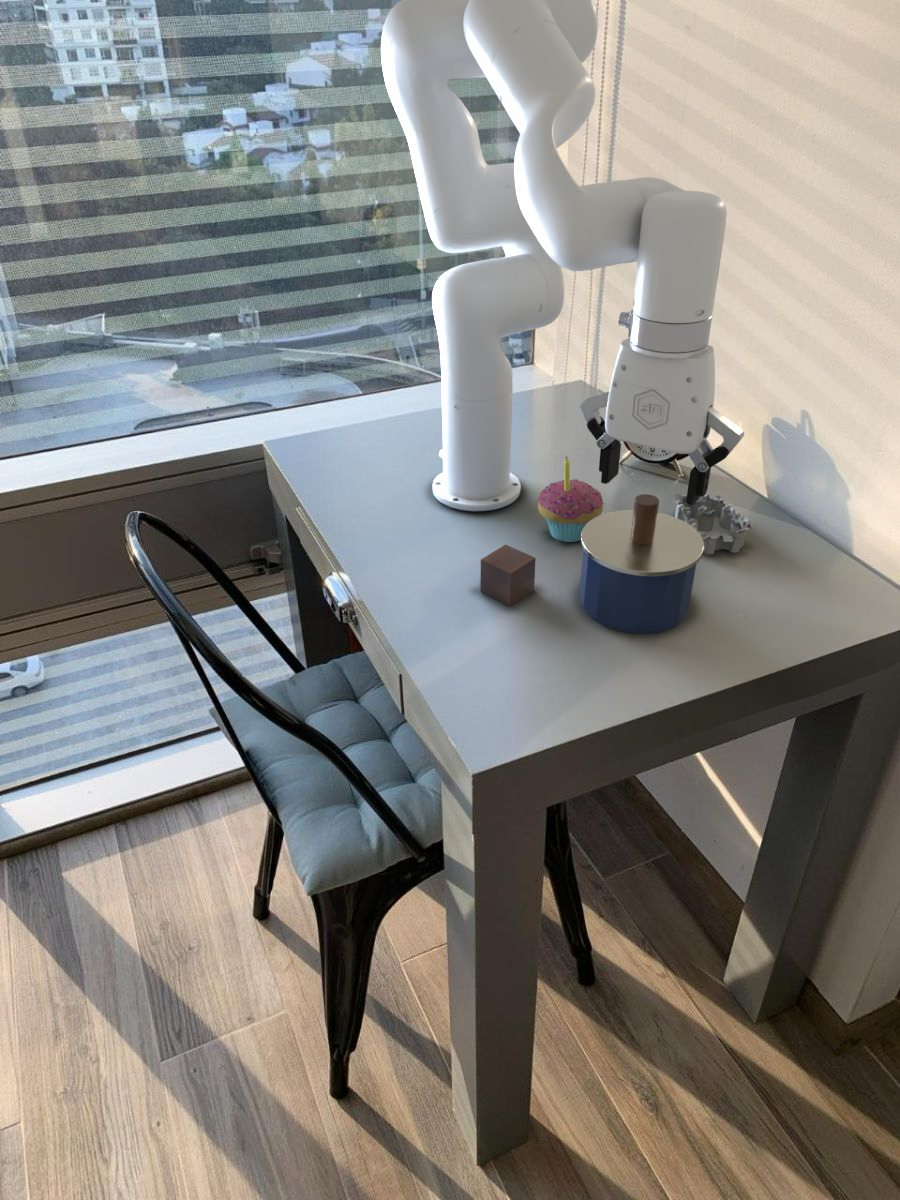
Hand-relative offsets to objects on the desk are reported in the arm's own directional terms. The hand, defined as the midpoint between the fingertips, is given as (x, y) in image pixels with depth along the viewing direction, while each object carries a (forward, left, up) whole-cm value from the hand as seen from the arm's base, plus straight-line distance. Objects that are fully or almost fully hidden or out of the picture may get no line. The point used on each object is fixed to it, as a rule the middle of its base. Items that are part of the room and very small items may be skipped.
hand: (650, 489), depth 96 cm
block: (-9, -12, -15) cm, 21 cm away
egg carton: (-8, +18, -15) cm, 25 cm away
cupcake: (-17, +2, -15) cm, 23 cm away
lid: (0, 0, -7) cm, 7 cm away
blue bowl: (0, 0, -15) cm, 15 cm away
